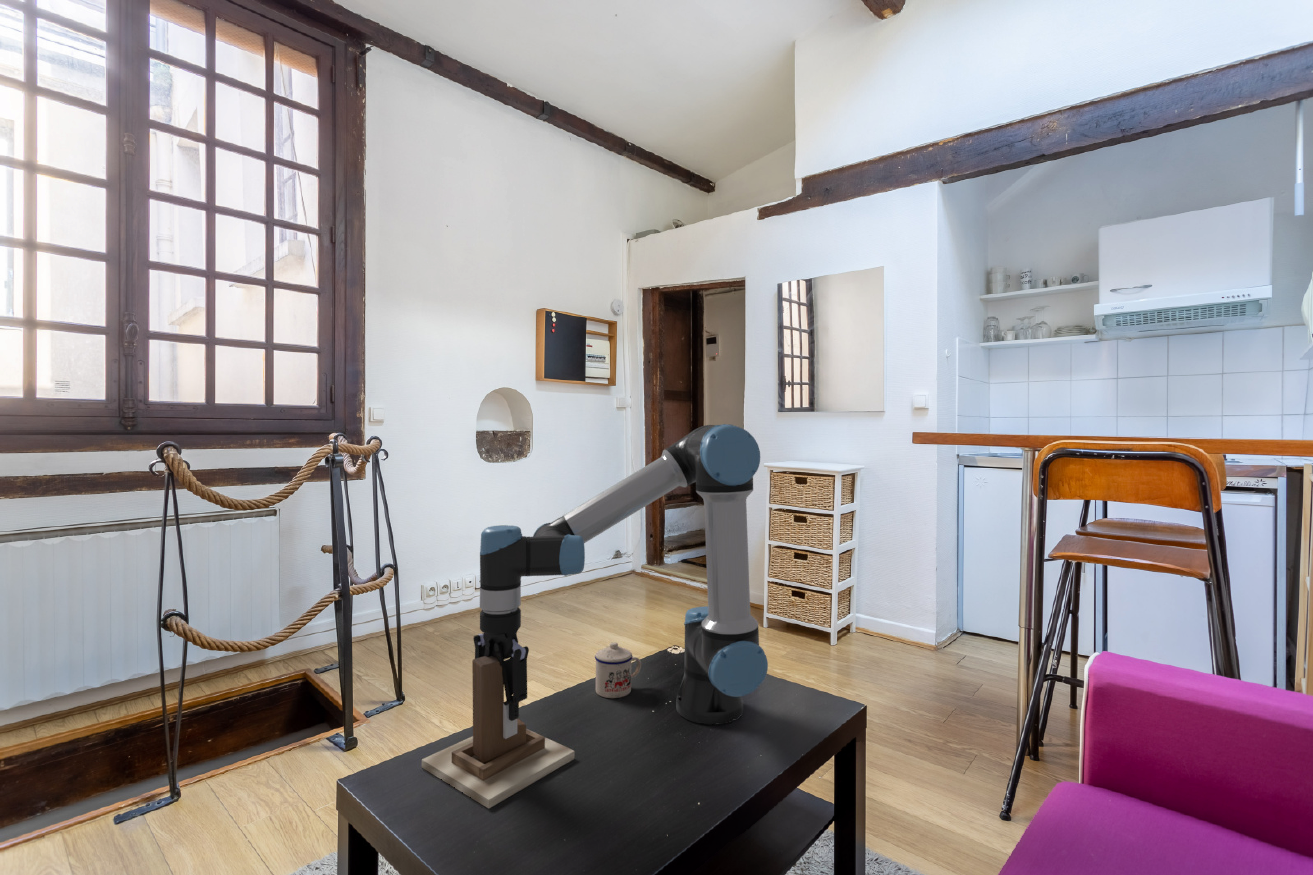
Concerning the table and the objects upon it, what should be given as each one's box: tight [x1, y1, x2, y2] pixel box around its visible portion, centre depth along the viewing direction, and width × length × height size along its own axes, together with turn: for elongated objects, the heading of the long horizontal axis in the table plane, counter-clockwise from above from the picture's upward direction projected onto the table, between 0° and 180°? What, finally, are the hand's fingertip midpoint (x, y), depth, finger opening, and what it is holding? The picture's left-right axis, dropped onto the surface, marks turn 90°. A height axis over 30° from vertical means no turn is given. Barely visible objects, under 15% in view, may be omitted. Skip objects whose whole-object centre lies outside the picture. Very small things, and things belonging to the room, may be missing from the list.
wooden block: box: [471, 656, 527, 762], centre depth 116 cm, size 9×4×18 cm, turn 129°
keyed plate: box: [421, 728, 576, 810], centre depth 116 cm, size 20×20×4 cm
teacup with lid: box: [594, 641, 642, 699], centre depth 150 cm, size 12×9×12 cm
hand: (499, 730), depth 116 cm, fingers open, 5 cm apart
